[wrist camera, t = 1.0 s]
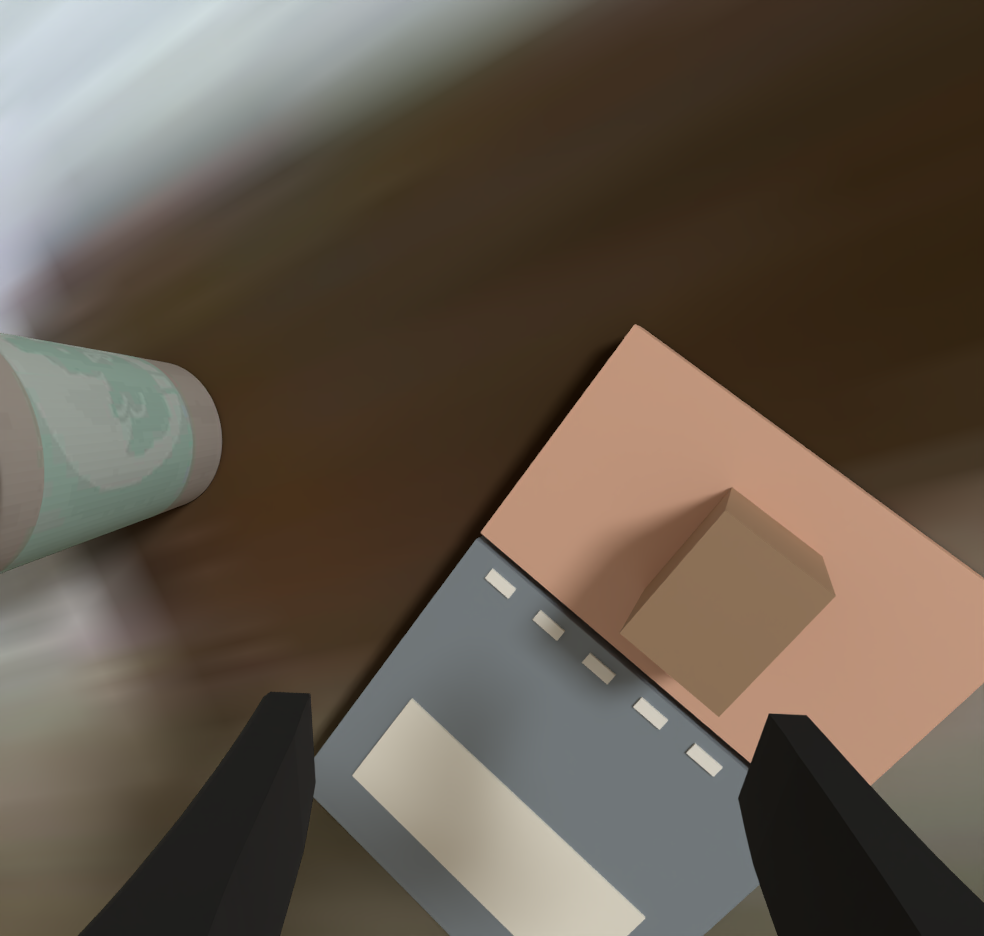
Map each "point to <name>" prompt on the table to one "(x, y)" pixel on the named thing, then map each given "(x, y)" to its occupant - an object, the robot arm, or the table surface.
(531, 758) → the ticket board
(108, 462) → the coffee cup
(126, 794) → the table surface
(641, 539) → the pink panel with block
